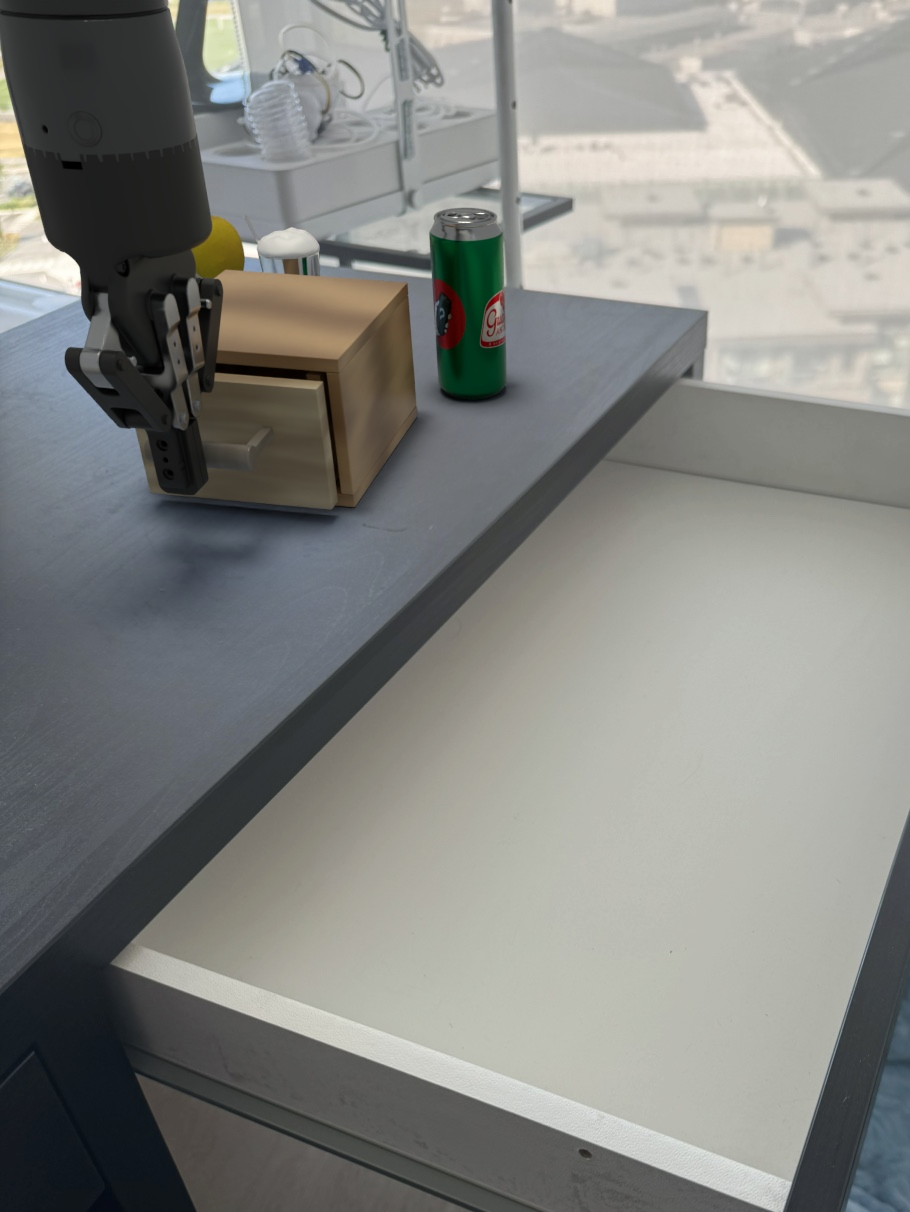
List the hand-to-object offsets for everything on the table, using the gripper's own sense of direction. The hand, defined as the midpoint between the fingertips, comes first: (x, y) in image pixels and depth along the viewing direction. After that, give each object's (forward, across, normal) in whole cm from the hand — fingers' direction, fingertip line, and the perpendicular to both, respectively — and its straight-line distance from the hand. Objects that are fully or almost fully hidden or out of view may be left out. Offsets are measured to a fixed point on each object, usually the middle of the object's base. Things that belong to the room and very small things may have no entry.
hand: (185, 488), depth 63 cm
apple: (+5, -42, -17) cm, 46 cm away
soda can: (+5, -28, +9) cm, 30 cm away
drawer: (+4, -10, 0) cm, 11 cm away
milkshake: (+5, -32, -6) cm, 33 cm away
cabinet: (+4, -15, 0) cm, 16 cm away
